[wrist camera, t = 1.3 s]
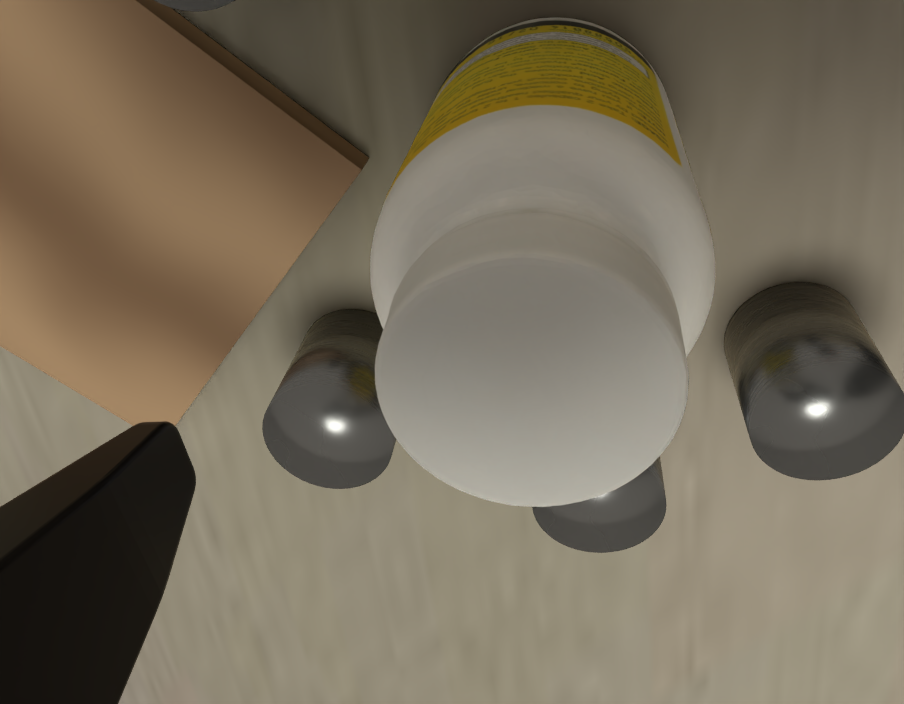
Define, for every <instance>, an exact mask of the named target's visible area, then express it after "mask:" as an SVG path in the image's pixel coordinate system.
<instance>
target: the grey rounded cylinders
mask: <svg viewBox="0 0 904 704" xmlns="http://www.w3.org/2000/svg"><path fill="white" fill-rule="evenodd" d="M154 1H156V2H158V3H160V4H162V5H165V6H168V7H171V8H174V9H179V10H183V11H194V12H195V11H208V10H212V9H217V8H219V7H222V6H224V5H227V4H229V3H231V2H233V1H235V0H154ZM382 332H383V328H382V326H381V323H380V320H379V318H378V315H377V314H374V313H371V312H367V311H363V310H340V311H336V312H332V313H330V314H327V315H325V316H323V317H322V318H320V319H319V320H318V321H316V322H315V323H314V324H313V325H312V326H311V328H310V329H309V331H308V332H307V334H306V336H305V338H304V340H303V342H302V344H301V346H300V348H299V350H298V351H297V353H296V355H295V357H294V359H293V361H292V363H291V365H290V367H289V368H288V370H287V372H286V374H285V376H284V378H283V380H282V382H281V384H280V386H279V387H278V389H277V391H276V393H275V395H274V397H273V399H272V401H271V403H270V405H269V406H268V408H267V410H266V413H265V415H264V419H263V436H264V440H265V443H266V445H267V448H268V449H269V451H270V453H271V454H272V456H273V457H274V458H275V460H276V461H277V462H278V463H279V464H280V465H281V466H282V467H283V468H284V469H286V470H287V471H288V472H290V473H291V474H293V475H294V476H296V477H298V478H299V479H301V480H303V481H306V482H308V483H311V484H314V485H317V486H321V487H325V488H333V489H345V488H353V487H358V486H361V485H364V484H366V483H369V482H371V481H372V480H374V479H375V478H377V477H378V476H379V475H380V474H381V473H382V472H383V471H384V470H385V469H386V467H387V465H388V464H389V461H390V459H391V455H392V452H393V449H394V445H395V442H396V438H395V437H394V435H393V433H392V431H391V430H390V428H389V426H388V424H387V422H386V420H385V417H384V415H383V413H382V410H381V407H380V404H379V401H378V397H377V392H376V386H375V359H376V354H377V349H378V344H379V340H380V338H381V335H382ZM724 350H725V355H726V359H727V362H728V365H729V369H730V372H731V376H732V379H733V382H734V386H735V389H736V393H737V396H738V399H739V403H740V406H741V410H742V413H743V416H744V420H745V423H746V427H747V430H748V433H749V437H750V440H751V443H752V446H753V448H754V450H755V452H756V453H757V455H758V456H759V457H760V458H761V460H762V461H763V462H765V463H766V464H767V465H768V466H770V467H771V468H773V469H774V470H776V471H778V472H780V473H782V474H785V475H788V476H790V477H794V478H799V479H806V480H830V479H837V478H842V477H846V476H849V475H852V474H855V473H858V472H860V471H863V470H865V469H867V468H869V467H871V466H872V465H874V464H876V463H877V462H879V461H880V460H882V459H883V458H884V457H885V456H886V455H888V454H889V453H890V452H891V451H892V450H893V449H894V447H895V446H896V445H897V444H898V442H899V441H900V439H901V438H902V436H903V434H904V393H903V391H902V390H901V388H900V386H899V384H898V383H897V381H896V379H895V378H894V376H893V374H892V373H891V371H890V369H889V368H888V366H887V364H886V363H885V361H884V359H883V357H882V356H881V354H880V352H879V351H878V349H877V347H876V346H875V344H874V342H873V341H872V339H871V337H870V336H869V334H868V332H867V330H866V329H865V327H864V325H863V324H862V322H861V320H860V319H859V317H858V315H857V314H856V312H855V310H854V309H853V307H852V306H851V304H850V303H849V302H848V301H847V300H846V299H845V298H844V297H843V296H842V295H841V294H839V293H838V292H836V291H834V290H833V289H831V288H828V287H825V286H823V285H818V284H814V283H788V284H783V285H778V286H775V287H772V288H769V289H767V290H765V291H762V292H760V293H759V294H757V295H755V296H754V297H752V298H751V299H749V300H748V301H747V302H745V303H744V304H743V305H742V306H741V307H740V308H739V309H738V311H737V312H736V313H735V314H734V316H733V317H732V319H731V320H730V322H729V324H728V327H727V329H726V333H725V338H724ZM532 508H533V513H534V516H535V518H536V520H537V522H538V524H539V525H540V527H541V528H542V529H543V530H544V531H545V532H546V533H547V534H548V535H549V536H550V537H552V538H553V539H554V540H556V541H558V542H559V543H561V544H563V545H566V546H568V547H571V548H574V549H577V550H581V551H587V552H598V553H603V552H614V551H620V550H624V549H627V548H630V547H633V546H635V545H637V544H639V543H641V542H643V541H644V540H646V539H647V538H649V537H650V536H651V535H652V534H653V533H654V532H655V531H656V530H657V529H658V528H659V526H660V525H661V523H662V521H663V519H664V516H665V512H666V497H665V490H664V483H663V476H662V469H661V462H660V456H659V457H658V458H657V459H656V460H655V462H654V463H653V464H652V465H651V466H649V467H648V468H647V469H646V470H645V471H643V472H642V473H641V474H640V475H638V476H637V477H636V478H634V479H633V480H631V481H629V482H628V483H626V484H625V485H623V486H621V487H619V488H617V489H616V490H613V491H611V492H608V493H606V494H603V495H601V496H598V497H595V498H591V499H588V500H585V501H581V502H576V503H571V504H566V505H558V506H547V507H532Z"/></svg>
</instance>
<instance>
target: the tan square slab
mask: <svg viewBox="0 0 904 704" xmlns="http://www.w3.org/2000/svg"><path fill="white" fill-rule="evenodd" d="M368 159H369V158H368V157H367V156H366V155H364V154H363V153H362V152H361V151H359V150H358V149H357V148H355V147H354V146H353V145H351V144H350V143H349V142H347V141H346V140H345V139H343V138H342V137H341V136H339V135H338V134H337V133H335V132H334V131H333V130H331V129H330V128H329V127H327V126H326V125H325V124H324V123H322V122H321V121H320V120H318V119H317V118H316V117H314V116H313V115H312V114H310V113H309V112H308V111H306V110H305V109H304V108H302V107H301V106H300V105H298V104H297V103H296V102H294V101H293V100H292V99H290V98H289V97H288V96H287V95H285V94H284V93H283V92H281V91H280V90H279V89H277V88H276V87H275V86H273V85H272V84H271V83H269V82H268V81H267V80H265V79H264V78H263V77H261V76H260V75H259V74H257V73H256V72H255V71H253V70H252V69H251V68H249V67H248V66H247V65H246V64H244V63H243V62H242V61H240V60H239V59H238V58H236V57H235V56H234V55H232V54H231V53H230V52H228V51H227V50H226V49H224V48H223V47H222V46H220V45H219V44H218V43H216V42H215V41H214V40H212V39H211V38H210V37H209V36H207V35H206V34H205V33H203V32H202V31H201V30H199V29H198V28H197V27H195V26H194V25H193V24H191V23H190V22H189V21H187V20H186V19H185V18H183V17H182V16H181V15H179V14H178V13H177V12H175V11H174V10H173V9H172V8H170V7H168V6H165V5H162V4H160V3H158V2H156V1H154V0H0V346H1V347H3V348H5V349H6V350H8V351H10V352H11V353H13V354H15V355H16V356H18V357H20V358H21V359H23V360H25V361H26V362H28V363H30V364H31V365H33V366H35V367H36V368H38V369H40V370H41V371H43V372H45V373H46V374H48V375H50V376H51V377H53V378H55V379H56V380H58V381H60V382H61V383H63V384H65V385H66V386H68V387H70V388H71V389H73V390H75V391H76V392H78V393H80V394H81V395H83V396H85V397H86V398H88V399H90V400H91V401H93V402H95V403H96V404H98V405H100V406H101V407H103V408H105V409H106V410H108V411H110V412H111V413H113V414H115V415H116V416H118V417H120V418H121V419H123V420H125V421H126V422H128V423H130V424H131V425H133V426H134V425H136V424H138V423H141V422H161V421H167V422H170V423H172V424H174V426H175V425H176V424H177V422H178V421H179V420H180V418H181V417H182V416H183V414H184V413H185V412H186V410H187V409H188V407H189V406H190V405H191V403H192V402H193V401H194V399H195V398H196V396H197V395H198V394H199V392H200V391H201V390H202V388H203V387H204V385H205V384H206V383H207V381H208V380H209V379H210V377H211V376H212V375H213V373H214V372H215V370H216V369H217V368H218V366H219V365H220V364H221V362H222V361H223V359H224V358H225V357H226V355H227V354H228V353H229V351H230V350H231V348H232V347H233V346H234V344H235V343H236V342H237V340H238V339H239V337H240V336H241V335H242V333H243V332H244V331H245V329H246V328H247V327H248V325H249V324H250V322H251V321H252V320H253V318H254V317H255V316H256V314H257V313H258V311H259V310H260V309H261V307H262V306H263V305H264V303H265V302H266V300H267V299H268V298H269V296H270V295H271V294H272V292H273V291H274V289H275V288H276V287H277V285H278V284H279V283H280V281H281V280H282V279H283V277H284V276H285V274H286V273H287V272H288V270H289V269H290V268H291V266H292V265H293V263H294V262H295V261H296V259H297V258H298V257H299V255H300V254H301V252H302V251H303V250H304V248H305V247H306V246H307V244H308V243H309V242H310V240H311V239H312V237H313V236H314V235H315V233H316V232H317V231H318V229H319V228H320V226H321V225H322V224H323V222H324V221H325V220H326V218H327V217H328V215H329V214H330V213H331V211H332V210H333V209H334V207H335V206H336V204H337V203H338V202H339V200H340V199H341V198H342V196H343V195H344V194H345V192H346V191H347V189H348V188H349V187H350V185H351V184H352V183H353V181H354V180H355V178H356V177H357V176H358V174H359V173H360V172H361V170H362V169H363V167H364V165H365V164H366V162H367V161H368Z"/></svg>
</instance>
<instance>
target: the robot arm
mask: <svg viewBox="0 0 904 704" xmlns="http://www.w3.org/2000/svg"><path fill="white" fill-rule="evenodd" d="M195 485H196V476H195V471H194V468H193V465H192V463H191V461H190V458H189V456H188V453H187V451H186V448H185V446H184V444H183V441H182V439H181V436H180V434H179V431H178V430H177V428H176V427H175V426H174V424H172V423H170V422H167V421H161V422H141V423H138V424H136V425H134V426H132V427H131V428H129V429H128V430H126V431H124V432H123V433H121V434H119V435H118V436H116V437H114V438H113V439H111V440H109V441H108V442H106V443H105V444H103V445H101V446H100V447H98V448H96V449H95V450H93V451H91V452H90V453H88V454H86V455H85V456H83V457H82V458H80V459H78V460H77V461H75V462H73V463H72V464H70V465H68V466H67V467H65V468H63V469H62V470H60V471H59V472H57V473H55V474H54V475H52V476H50V477H49V478H47V479H45V480H44V481H42V482H40V483H39V484H37V485H36V486H34V487H32V488H31V489H29V490H27V491H26V492H24V493H22V494H21V495H19V496H17V497H16V498H14V499H13V500H11V501H9V502H8V503H6V504H4V505H3V506H1V507H0V704H118V703H119V700H120V698H121V696H122V693H123V691H124V688H125V686H126V684H127V681H128V679H129V676H130V674H131V672H132V669H133V667H134V665H135V662H136V660H137V657H138V655H139V653H140V650H141V648H142V645H143V643H144V641H145V638H146V636H147V633H148V631H149V629H150V626H151V624H152V621H153V619H154V617H155V614H156V612H157V609H158V607H159V604H160V601H161V599H162V596H163V593H164V590H165V587H166V584H167V581H168V578H169V575H170V572H171V568H172V565H173V562H174V558H175V555H176V552H177V548H178V545H179V541H180V538H181V535H182V531H183V528H184V525H185V521H186V518H187V515H188V511H189V508H190V505H191V501H192V498H193V494H194V491H195Z"/></svg>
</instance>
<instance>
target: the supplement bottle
mask: <svg viewBox="0 0 904 704" xmlns="http://www.w3.org/2000/svg"><path fill="white" fill-rule="evenodd" d="M370 283H371V289H372V295H373V300H374V304H375V309H376V312H377V315H378V318H379V320H380V323H381V326H382V328H383V332H382V335H381V338H380V340H379V344H378V349H377V354H376V359H375V386H376V392H377V397H378V401H379V404H380V407H381V410H382V413H383V415H384V417H385V420H386V422H387V424H388V426H389V428H390V430H391V431H392V433H393V435H394V437H395V438H396V439H397V441H398V442H399V443H400V444H401V446H402V447H403V448H404V449H405V451H406V452H407V453H408V454H409V455H410V456H411V457H412V458H413V459H414V460H415V461H416V462H417V463H418V464H419V465H421V466H422V467H423V468H424V469H426V470H427V471H428V472H430V473H431V474H432V475H434V476H435V477H437V478H438V479H440V480H441V481H443V482H445V483H447V484H449V485H450V486H452V487H454V488H456V489H458V490H460V491H462V492H465V493H468V494H470V495H473V496H476V497H479V498H482V499H485V500H488V501H492V502H498V503H503V504H507V505H513V506H528V507H547V506H558V505H566V504H571V503H576V502H581V501H585V500H588V499H591V498H595V497H598V496H601V495H603V494H606V493H608V492H611V491H613V490H616V489H617V488H619V487H621V486H623V485H625V484H626V483H628V482H629V481H631V480H633V479H634V478H636V477H637V476H638V475H640V474H641V473H642V472H643V471H645V470H646V469H647V468H648V467H649V466H651V465H652V464H653V463H654V462H655V460H656V459H657V458H658V457H659V456H660V455H661V454H662V452H663V451H664V450H665V449H666V447H667V446H668V445H669V443H670V442H671V441H672V439H673V437H674V435H675V433H676V431H677V429H678V427H679V425H680V423H681V420H682V417H683V414H684V411H685V407H686V402H687V398H688V385H689V371H688V365H687V359H686V357H687V356H688V354H689V353H690V351H691V349H692V348H693V346H694V345H695V343H696V341H697V339H698V338H699V336H700V334H701V332H702V330H703V327H704V325H705V322H706V320H707V316H708V313H709V311H710V308H711V303H712V299H713V295H714V286H715V255H714V245H713V241H712V236H711V229H710V225H709V222H708V218H707V215H706V212H705V209H704V207H703V204H702V201H701V198H700V195H699V192H698V190H697V187H696V184H695V181H694V178H693V175H692V171H691V168H690V164H689V161H688V158H687V155H686V152H685V149H684V145H683V142H682V139H681V136H680V134H679V131H678V128H677V124H676V120H675V117H674V114H673V111H672V108H671V105H670V103H669V100H668V97H667V94H666V91H665V89H664V86H663V84H662V82H661V80H660V78H659V77H658V75H657V73H656V72H655V70H654V69H653V68H652V66H651V65H650V63H649V62H648V61H647V60H646V59H645V58H644V56H643V55H642V54H641V53H640V52H639V51H638V50H637V49H636V48H635V47H634V46H632V45H631V44H630V43H629V42H627V41H626V40H625V39H623V38H622V37H620V36H619V35H617V34H615V33H614V32H612V31H610V30H608V29H606V28H604V27H601V26H599V25H596V24H594V23H590V22H586V21H583V20H577V19H572V18H539V19H533V20H528V21H524V22H521V23H517V24H514V25H511V26H509V27H507V28H504V29H502V30H500V31H498V32H496V33H494V34H492V35H491V36H489V37H488V38H486V39H485V40H483V41H482V42H480V43H479V44H478V45H477V46H476V47H474V48H473V49H472V50H471V51H470V52H469V53H468V54H467V55H465V56H464V57H463V59H462V60H461V61H460V62H459V63H458V64H457V65H456V66H455V68H454V69H453V70H452V71H451V73H450V74H449V75H448V77H447V78H446V80H445V81H444V83H443V85H442V86H441V88H440V90H439V92H438V94H437V96H436V98H435V100H434V102H433V104H432V106H431V108H430V110H429V113H428V115H427V117H426V118H425V120H424V122H423V124H422V126H421V128H420V130H419V132H418V134H417V136H416V138H415V139H414V141H413V144H412V146H411V148H410V150H409V152H408V154H407V156H406V158H405V160H404V162H403V164H402V166H401V168H400V170H399V172H398V174H397V176H396V177H395V180H394V182H393V184H392V186H391V188H390V190H389V192H388V194H387V196H386V198H385V201H384V204H383V206H382V209H381V213H380V216H379V219H378V222H377V225H376V228H375V231H374V236H373V241H372V247H371V254H370Z"/></svg>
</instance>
